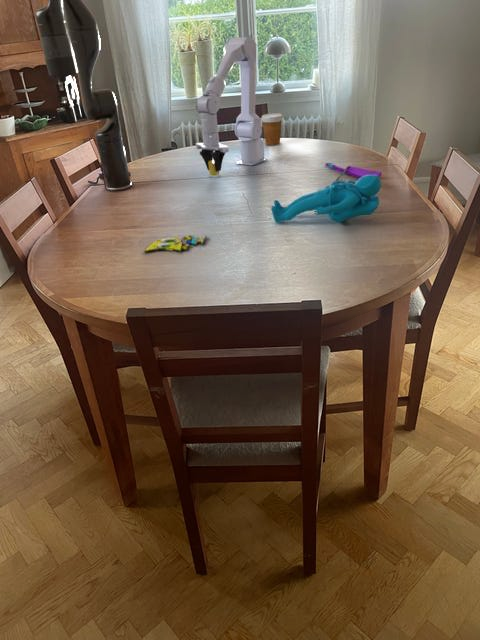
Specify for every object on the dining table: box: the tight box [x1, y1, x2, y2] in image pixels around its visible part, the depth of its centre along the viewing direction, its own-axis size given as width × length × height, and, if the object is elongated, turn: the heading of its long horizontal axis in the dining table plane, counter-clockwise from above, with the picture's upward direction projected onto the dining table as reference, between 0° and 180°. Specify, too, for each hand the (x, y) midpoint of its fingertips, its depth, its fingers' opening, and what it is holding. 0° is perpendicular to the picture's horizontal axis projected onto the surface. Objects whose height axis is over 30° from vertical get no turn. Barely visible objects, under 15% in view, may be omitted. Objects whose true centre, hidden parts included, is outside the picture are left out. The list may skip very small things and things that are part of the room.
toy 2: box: [270, 175, 382, 224], centre depth 134 cm, size 17×11×30 cm
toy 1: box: [144, 234, 207, 254], centre depth 130 cm, size 10×1×15 cm
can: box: [208, 159, 220, 176], centre depth 179 cm, size 4×4×5 cm
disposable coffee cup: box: [260, 112, 283, 146], centre depth 214 cm, size 10×10×12 cm
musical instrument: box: [324, 162, 382, 185], centre depth 168 cm, size 24×2×20 cm
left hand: (75, 120), depth 135 cm, fingers open, 8 cm apart
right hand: (214, 170), depth 180 cm, fingers closed on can, 4 cm apart
